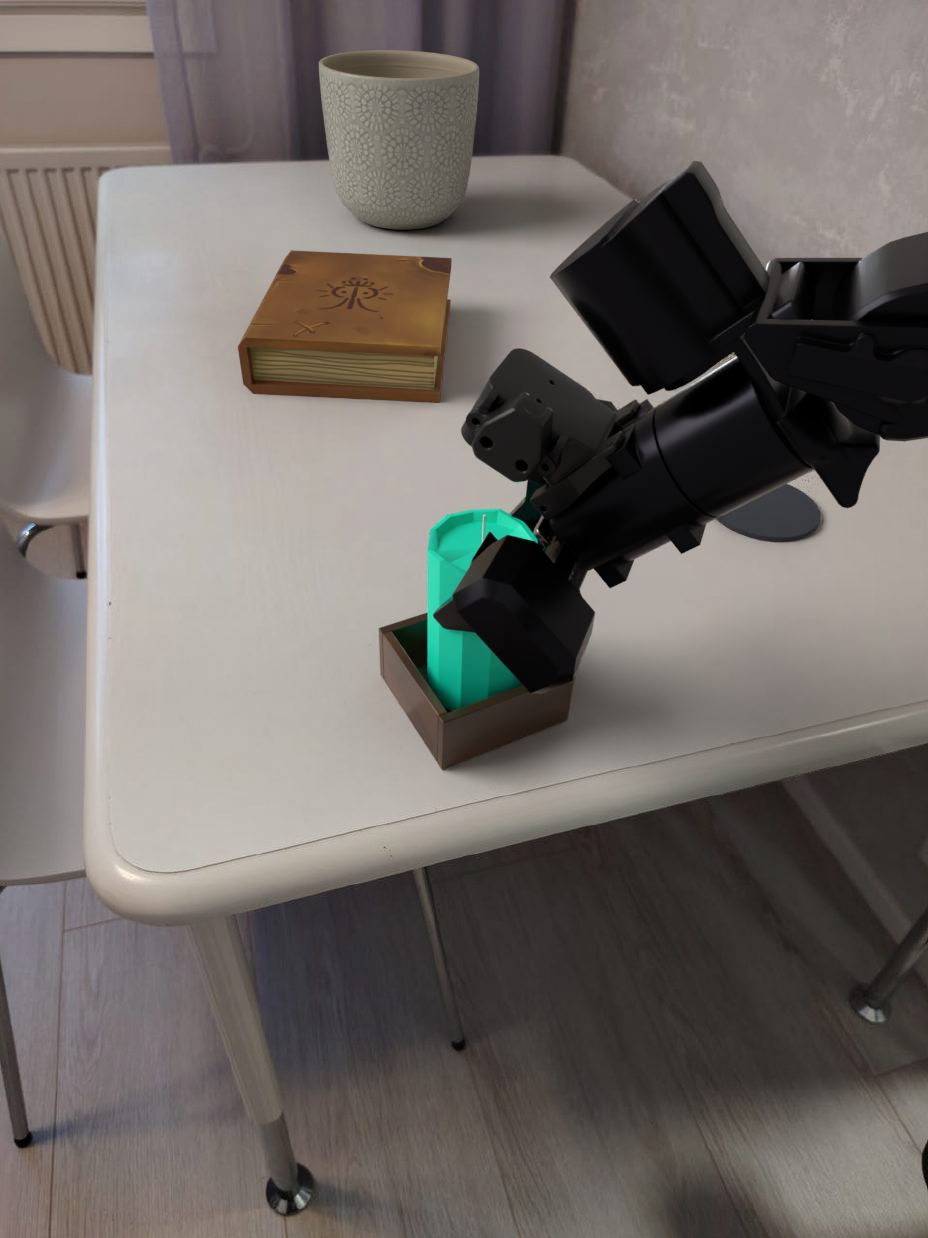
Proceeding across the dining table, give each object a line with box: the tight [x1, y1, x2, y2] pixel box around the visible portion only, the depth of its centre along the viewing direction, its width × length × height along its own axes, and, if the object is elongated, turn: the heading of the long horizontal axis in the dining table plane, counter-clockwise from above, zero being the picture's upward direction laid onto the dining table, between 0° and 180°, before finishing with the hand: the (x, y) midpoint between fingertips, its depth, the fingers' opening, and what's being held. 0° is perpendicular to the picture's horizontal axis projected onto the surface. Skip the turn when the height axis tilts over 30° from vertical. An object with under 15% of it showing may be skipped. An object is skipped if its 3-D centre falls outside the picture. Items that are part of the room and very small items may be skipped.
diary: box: [237, 249, 453, 403], centre depth 89 cm, size 23×19×6 cm
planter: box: [318, 49, 480, 231], centre depth 118 cm, size 21×21×19 cm
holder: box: [378, 611, 576, 770], centre depth 52 cm, size 9×9×4 cm
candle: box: [426, 508, 537, 712], centre depth 49 cm, size 6×6×12 cm
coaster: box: [716, 483, 821, 542], centre depth 71 cm, size 9×9×1 cm
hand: (457, 591), depth 49 cm, fingers closed on candle, 5 cm apart
